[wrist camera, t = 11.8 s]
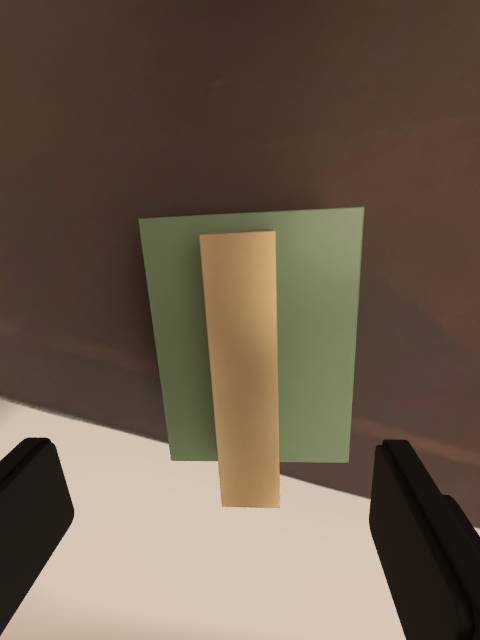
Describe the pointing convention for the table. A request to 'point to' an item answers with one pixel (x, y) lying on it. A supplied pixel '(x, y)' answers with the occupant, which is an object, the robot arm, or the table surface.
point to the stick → (243, 362)
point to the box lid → (292, 327)
